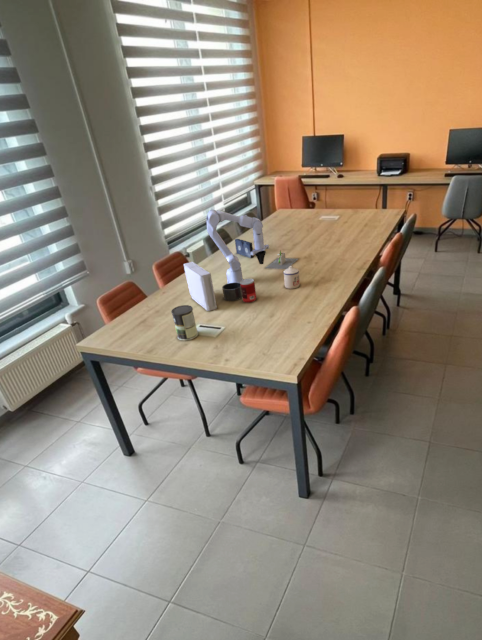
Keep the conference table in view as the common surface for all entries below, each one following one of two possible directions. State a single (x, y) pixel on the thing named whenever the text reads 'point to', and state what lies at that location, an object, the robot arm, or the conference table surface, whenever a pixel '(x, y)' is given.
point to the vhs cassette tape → (244, 248)
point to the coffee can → (184, 322)
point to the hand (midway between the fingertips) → (261, 263)
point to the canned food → (248, 290)
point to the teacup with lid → (291, 277)
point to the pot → (232, 291)
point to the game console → (200, 286)
